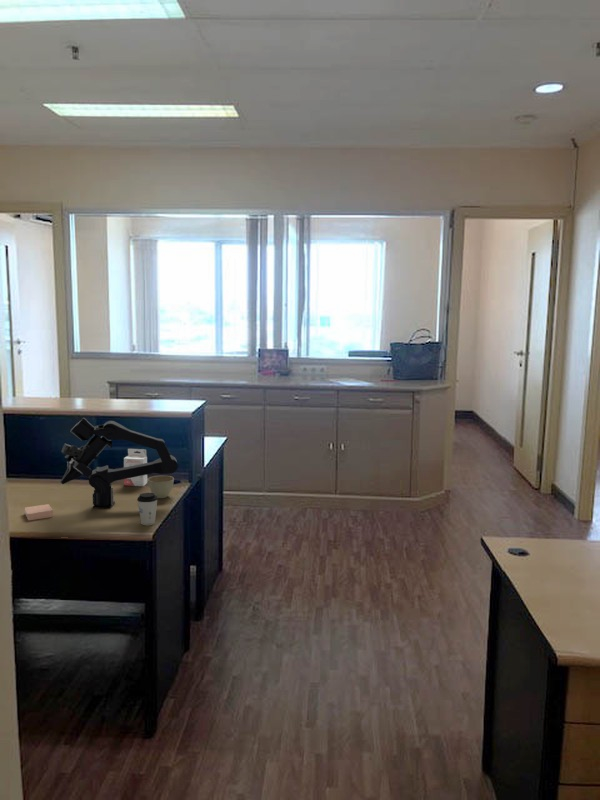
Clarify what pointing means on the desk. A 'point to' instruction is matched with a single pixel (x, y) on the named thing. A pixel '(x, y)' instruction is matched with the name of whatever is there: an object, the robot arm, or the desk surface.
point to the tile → (38, 512)
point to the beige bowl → (161, 485)
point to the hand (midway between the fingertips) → (61, 483)
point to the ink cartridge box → (135, 460)
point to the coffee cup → (147, 508)
